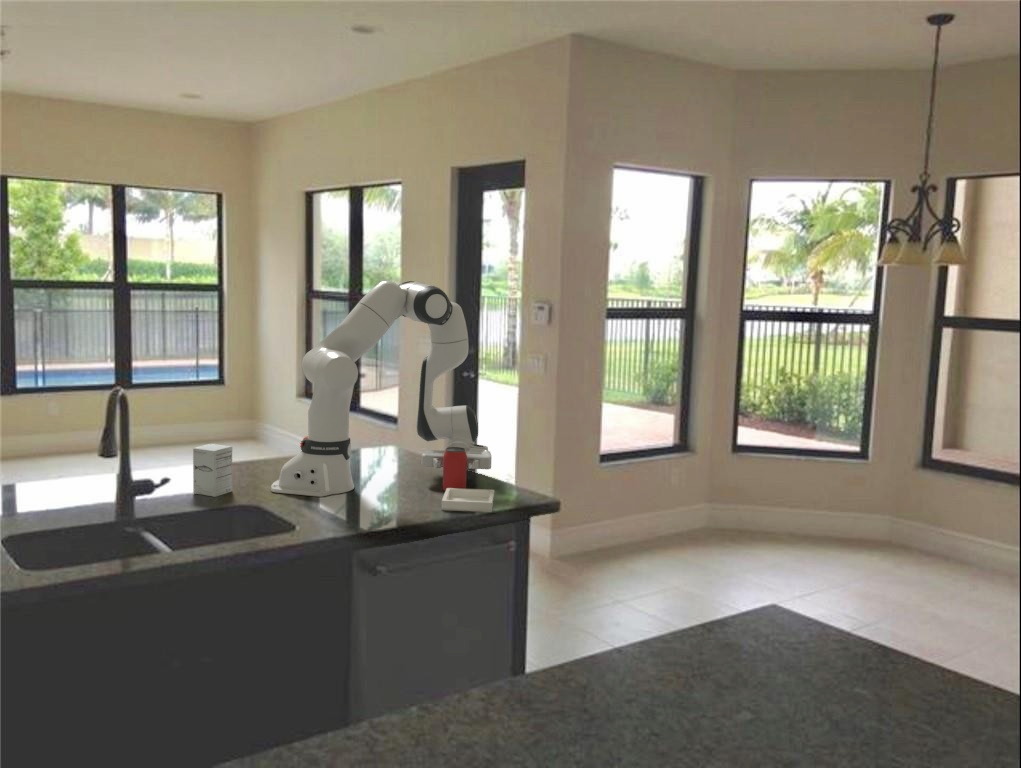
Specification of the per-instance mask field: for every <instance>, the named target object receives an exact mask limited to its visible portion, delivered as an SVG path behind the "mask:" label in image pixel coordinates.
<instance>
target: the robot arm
mask: <svg viewBox="0 0 1021 768" xmlns="http://www.w3.org/2000/svg"><path fill="white" fill-rule="evenodd" d="M401 317H405V318H408V319H410V320H412V321H415V322H419V323H424V324H427V326H428V328H429V331H430V332H429V333H430V344H431V345H430V351H429V353H428V355H427V356H425V357H424V358H423V361H422V363H421V369H420V370H421V371H420V378H419V379H420V380H419V392H418V393H419V394H418V396H419V397H418V408H417V415H416V419H415V429H416V432H417V435H418V436H419V437H420V438H421V439H422V440H424V441H426V442H432V441H433V442H434V441H438V440H444V439H445V440H446V439H450V440H449V441H448V443H447V445H446V446H445V449H444V450H436V449H435V450H434V449H432V450H431V449H429V450H426V451H424V452H423V453H422V454H421V461H420V462H421V466H422V467H425V468H435V469H441V468H443V457H444V453H445V451H446V448H448V447H461V448H464V449H465V452H466V455H467V470H468V471H469V470H491V469H492V453H491V451H489V447H488V446H487V445H482V444H476V442H475V441H476V440H477V438H478V437H479V422H478V417H477V413H476V412H475V411H474V409H472V408H471V407H470V405H455V406H453V405H452V406H445V407H444V406H443V407H442V406H441V407H434V406H433V395H434V394H433V393H434V392H433V391H434V383H435V381H436V380H437V378H439V377H441V376H442V375H444V374H446V373H448V372H450V371H452V370H454V369H456V368H458V367H459V366H460V365H462V364H463V363H464V362H465V360H466V359H467V357H468V355H469V335H468V327H467V322H466V318H465V316H464V312H463V309H462V307H461V306H460V304H458V303H457V302H455V301H450V298H449V296H448V295H447V294H446V293H445V292H444V291H443V290H442V289H441V288H440V287H438V286H435V285H430V284H428V283H425V282H422V281H421V282H419V281H412V280H410V281H404V282H402V283H400V284H397V283H396V282H395V281H391V280H382V281H380V282H378V283H377V284H376V285H375V286H374V287H372V288H371V289H370V290H368V292H367V293H366V294H364V296H363V297H362V298H361V299H360V300H359V301H358V302H357V303H356V305H354V307H353V308H352V310H351V311H350V312H349V313H348V315H347V316H346V317H345V318H344V319H343V320H342V321H341V322H340V323H339V324H338V325H337V326H336V327H335V328H334V329H333V330H331V332H329V333H328V334H327V335H326V336H325V337H324V338H322V340H321V341H320V342H319V343H318V344H317V345H315V346H314V347H313V348H312V349H311V350H309V351H307V352H306V353H305V355H304V356H303V358H302V361H301V369H302V372H303V374H304V376H305V378H306V380H308V381H309V382H310V384H313V392H312V396H311V402H310V406H309V408H308V411H307V415H308V416H307V419H308V420H307V433H308V435H306V436H305V437H303V438H302V440H301V441H300V444H299V446H300V447H299V448H300V450H301V451H299V452H298V453H297V454H296V455H294V456H293V457H292V458H291V459H288V461H287V462H285V463H284V465H282V467H281V468H280V469H281V470H280V473H279V478H278V479H277V480H276V481H273V483H271V486H270V491H271V492H273V493H278V494H279V493H280V494H289V495H301V496H310V497H321V498H322V497H327V496H330V495H338V494H343V493H347V492H350V491H352V490H354V488H355V484H354V480H353V477H352V472H351V471H352V470H351V463H350V459H351V454H352V445H351V438H350V408H351V402H352V399H353V398H352V397H353V394H354V393H353V392H354V386H355V384H356V383H357V380H358V378H359V377H358V376H359V369H358V366H357V364H356V362H357V361H358V360H359V359H360V358H362V357H363V356H364V355H366V353H369V352H370V351H371V350H373V348H374V347H376V345H377V344H378V342H379V341H380V340H381V339H382V337H384V335H385V334H386V333H387V332H388V331H389V329H390V328H391V326H392V325H393V324H394V322H396V320H398V319H399V318H401Z"/></svg>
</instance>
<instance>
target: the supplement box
mask: <svg viewBox="0 0 1021 768" xmlns="http://www.w3.org/2000/svg"><path fill="white" fill-rule="evenodd" d="M192 460H193V461H192V462H193V463H192V465H193V471H192V472H193V473H192V474H193V475H192V476H193V477H192V478H193V480H192V482H193V483H192V484H193V485H192V486H193V491H192V492H193V494H196V495H197V494H198V495H202V496H209V497H213V498H214V497H215V498H216V497H219V496H222V495H225V494H228V493H231V492H233V446H231V445H224V444H217V443H208V444H203V445H199V446H196V447H193V448H192Z"/></svg>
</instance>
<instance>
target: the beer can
mask: <svg viewBox="0 0 1021 768" xmlns="http://www.w3.org/2000/svg"><path fill="white" fill-rule="evenodd" d="M445 449H446V451H445V450H444V451H445V453H444V457H443V467H442V490H443V491H444V492H445V491H446V489H447V488H460V489H467V472H468V471H467V455H466V452H465V449H464V448H461V447H448V448H446V447H445Z"/></svg>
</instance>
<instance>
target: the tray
mask: <svg viewBox="0 0 1021 768" xmlns="http://www.w3.org/2000/svg"><path fill="white" fill-rule="evenodd" d="M494 500H495V489H486V488H485V489H482V488H466V489H460V488H447V489H446V491H444V494H443V496H442V499H441V511H455V512H456V511H458V512H478V513H479V512H482V513H492V511H493V508H492V507H493V506H494V502H493V501H494Z"/></svg>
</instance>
